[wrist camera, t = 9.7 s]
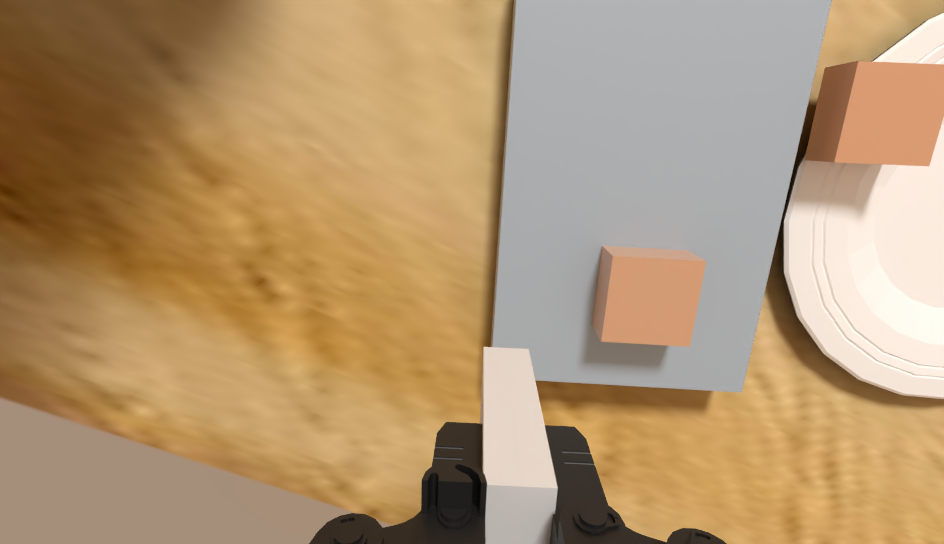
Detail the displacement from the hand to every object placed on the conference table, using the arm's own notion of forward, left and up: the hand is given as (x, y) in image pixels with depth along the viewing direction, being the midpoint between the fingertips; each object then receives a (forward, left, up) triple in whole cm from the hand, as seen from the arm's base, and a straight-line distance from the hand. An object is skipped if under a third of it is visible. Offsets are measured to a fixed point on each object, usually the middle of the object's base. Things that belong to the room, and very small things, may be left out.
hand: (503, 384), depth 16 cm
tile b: (+9, 0, -13) cm, 16 cm away
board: (+8, +5, -16) cm, 19 cm away
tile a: (+20, +10, -15) cm, 27 cm away
